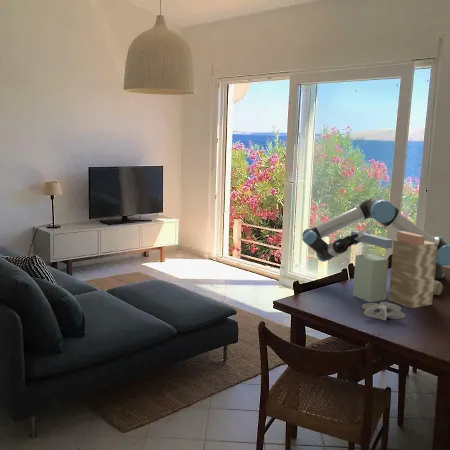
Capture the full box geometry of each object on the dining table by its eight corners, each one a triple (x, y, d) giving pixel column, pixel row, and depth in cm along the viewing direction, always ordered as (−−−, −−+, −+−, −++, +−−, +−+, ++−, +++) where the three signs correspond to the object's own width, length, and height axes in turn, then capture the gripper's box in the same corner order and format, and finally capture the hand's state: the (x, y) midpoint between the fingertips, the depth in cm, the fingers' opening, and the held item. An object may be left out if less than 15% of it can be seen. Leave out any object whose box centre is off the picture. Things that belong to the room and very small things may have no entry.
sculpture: (369, 307, 246) (370, 294, 245) (411, 317, 234) (413, 304, 233) (352, 317, 233) (353, 303, 232) (396, 328, 221) (397, 314, 219)
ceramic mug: (437, 297, 264) (438, 282, 262) (420, 293, 269) (422, 279, 268) (444, 293, 271) (446, 278, 270) (429, 289, 277) (430, 275, 276)
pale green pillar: (352, 295, 264) (355, 255, 260) (368, 292, 269) (370, 253, 265) (369, 302, 254) (372, 260, 250) (385, 299, 258) (388, 258, 255)
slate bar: (350, 238, 267) (351, 231, 266) (357, 238, 269) (357, 230, 268) (385, 248, 246) (386, 240, 245) (392, 247, 248) (392, 239, 247)
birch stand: (409, 296, 265) (414, 237, 259) (432, 304, 253) (437, 243, 247) (388, 299, 258) (393, 239, 253) (411, 308, 246) (416, 245, 241)
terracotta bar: (396, 239, 253) (397, 231, 252) (402, 239, 255) (403, 231, 254) (417, 245, 242) (418, 236, 241) (424, 244, 244) (424, 235, 243)
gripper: (352, 252, 282) (381, 238, 262) (327, 255, 274) (355, 241, 254) (348, 239, 284) (377, 224, 264) (323, 241, 276) (351, 226, 256)
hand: (366, 232), depth 259 cm, fingers closed on slate bar, 4 cm apart
